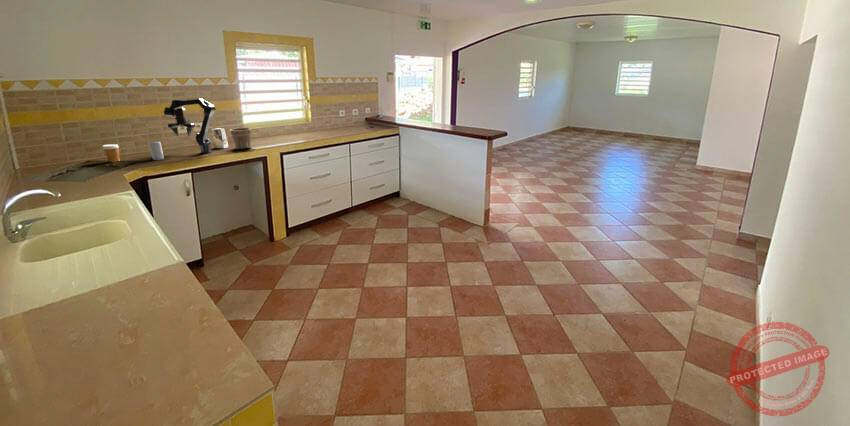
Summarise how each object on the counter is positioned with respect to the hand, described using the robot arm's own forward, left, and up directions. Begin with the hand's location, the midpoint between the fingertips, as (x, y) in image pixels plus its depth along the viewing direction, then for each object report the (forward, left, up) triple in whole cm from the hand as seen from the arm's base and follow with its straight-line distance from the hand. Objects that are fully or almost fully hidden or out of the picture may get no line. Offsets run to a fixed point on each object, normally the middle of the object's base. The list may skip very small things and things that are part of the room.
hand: (183, 136), depth 320 cm
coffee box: (-16, -23, -13) cm, 31 cm away
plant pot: (-36, -21, -13) cm, 44 cm away
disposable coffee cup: (+32, +36, -13) cm, 50 cm away
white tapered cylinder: (+6, +26, -13) cm, 29 cm away
